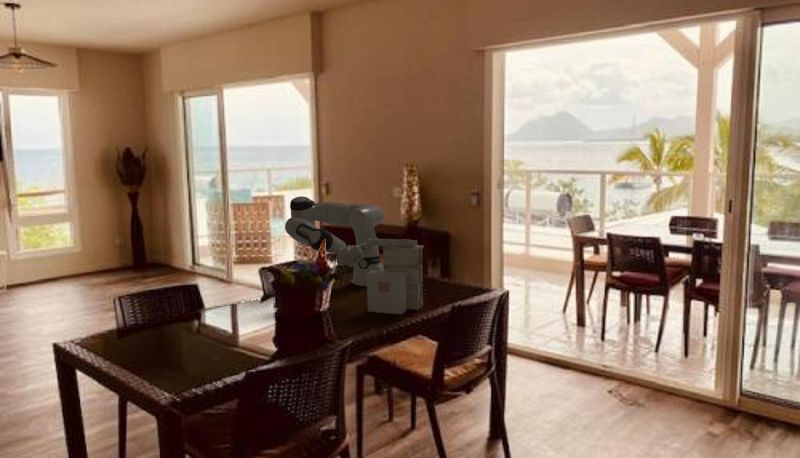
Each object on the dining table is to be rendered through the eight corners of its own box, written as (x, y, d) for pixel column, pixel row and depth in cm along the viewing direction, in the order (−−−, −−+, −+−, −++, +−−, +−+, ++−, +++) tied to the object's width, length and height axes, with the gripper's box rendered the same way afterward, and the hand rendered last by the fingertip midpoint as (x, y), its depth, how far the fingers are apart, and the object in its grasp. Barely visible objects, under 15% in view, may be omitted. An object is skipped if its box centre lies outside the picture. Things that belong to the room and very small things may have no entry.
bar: (366, 245, 259) (366, 238, 258) (369, 244, 262) (369, 237, 261) (415, 247, 251) (414, 240, 251) (417, 246, 254) (417, 239, 254)
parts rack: (372, 307, 257) (371, 270, 255) (408, 310, 252) (407, 272, 249) (366, 311, 251) (365, 273, 248) (402, 314, 245) (401, 276, 243)
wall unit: (389, 302, 264) (388, 244, 261) (424, 305, 259) (423, 245, 256) (382, 307, 257) (381, 246, 254) (418, 310, 252) (417, 248, 248)
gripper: (336, 253, 254) (362, 238, 249) (356, 245, 273) (381, 231, 268) (343, 266, 254) (369, 251, 249) (363, 258, 273) (387, 244, 268)
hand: (375, 241), depth 259 cm, fingers closed on bar, 3 cm apart
